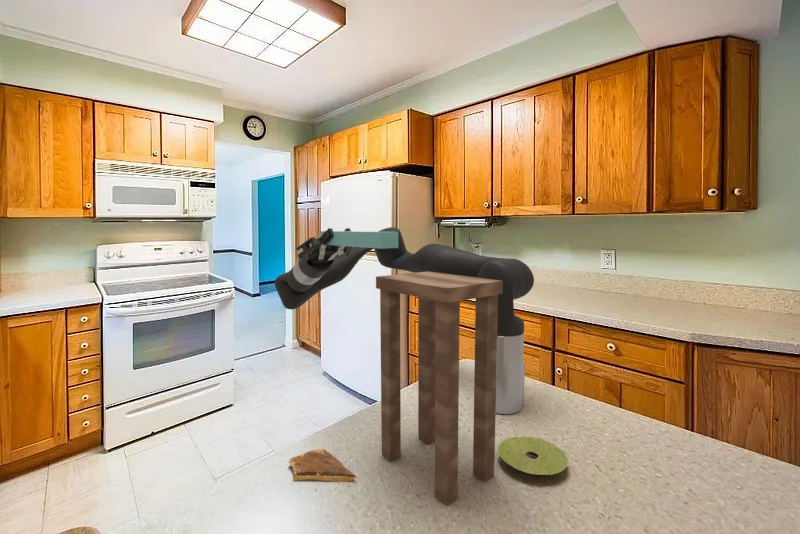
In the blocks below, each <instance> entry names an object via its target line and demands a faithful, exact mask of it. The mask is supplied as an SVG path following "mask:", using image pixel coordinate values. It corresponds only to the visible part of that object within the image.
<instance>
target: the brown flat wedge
mask: <svg viewBox="0 0 800 534" xmlns="http://www.w3.org/2000/svg"><path fill="white" fill-rule="evenodd" d="M288 463H289V464H290V465H291V467H292V469H293V477H292V479H293V481H294V482H295V481H307V480H312V481H321V482H339V483H340V482H352V481H355V478H357V475H355V474H353V472H351V470H349V469H348V468H347V467H346V466H344V465H343V463H342V462H341V461H340V460H339V459H337V457H335V456H334V455H333V454H332V453H330V452H329V451H327V450H326V449H325V448H319V449H312V450H309V451H306V452H304V453H302V454H299V455H296V456H293V457H292V458H289V460H288Z"/></svg>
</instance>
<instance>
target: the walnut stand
mask: <svg viewBox="0 0 800 534" xmlns="http://www.w3.org/2000/svg"><path fill="white" fill-rule="evenodd" d="M375 288H376V289H377V290H379V293H380V295H379V296H380V297H379V301H380V302H379V304H380V305H379V307H380V309H379V311H380V314H379V315H380V319H379V320H380V322H379V323H380V395H381V398H380V399H381V401H380V402H381V403H380V410H381V411H380V412H381V413H380V414H381V415H380V416H381V423H380V425H381V456H382V457H383V458H384V459H385V460H386V461H388V462H389V463H391V462H393V461H395V460H398V459H399V458H401V454H402V453H401V452H402V445H401V444H402V443H401V441H402V440H401V439H402V438H401V437H402V436H401V435H402V434H401V427H402V425H401V419H402V418H401V412H402V411H401V410H402V409H401V404H402V403H401V402H402V401H401V295H407V296H411V297H417V298H418V299H417V301H418V304H417V305H418V309H417V311H418V314H417V316H418V318H417V319H418V323H417V324H418V325H417V327H418V330H417V331H418V332H417V333H418V335H417V337H418V339H417V340H418V342H417V343H418V344H417V345H418V348H417V349H418V350H417V351H418V353H417V354H418V356H417V357H418V362H417V363H418V366H417V367H418V368H417V369H418V375H417V377H418V378H417V379H418V380H417V382H418V385H417V386H418V389H417V390H418V391H417V392H418V393H417V394H418V395H417V396H418V399H417V400H418V405H417V406H418V407H417V408H418V410H417V411H418V414H417V419H418V421H417V423H418V424H417V425H418V426H417V429H418V430H417V431H418V435H417V436H418V438H417V439H418V440H419V441H421V442H422V443H424V444H425V445H429V444H431V443H434V498H435V499H437V500H438V501H439V502H440V503H441V504H443V505H444V506H446V507H447V506H449V504H452V503H453V502H455V501H456V500H458V498H459V497H458V488H459V487H458V484H459V483H458V482H459V481H458V480H459V479H458V477H459V476H458V475H459V405H460V403H459V401H460V400H459V397H460V395H459V394H460V386H459V385H460V317H461V316H460V310H461V309H460V308H461V306H460V305H461V304H460V303H461V301H467V300H474V299H475V313H474V319H475V320H474V321H475V322H474V323H475V324H474V374H473V375H474V379H473V380H474V381H473V382H474V386H473V387H474V388H473V389H474V390H473V441H472V442H473V444H472V445H473V446H472V447H473V452H472V455H473V456H472V459H473V460H472V475H473V476H475V477H476V478H478V479H479V480H481V481H483V482H487V481H488V480H490V479H491V478H493V477H494V476H495V454H496V453H495V452H496V451H495V448H496V447H495V446H496V445H495V444H496V442H495V441H496V413H495V412H496V365H497V317H498V294H503V281H501V280H493V279H485V278H477V277H469V276H461V275H453V274H445V273H437V272H429V271H428V272H418V273H414V272H409V273H400V274H391V275H389V274H387V275H378V276H377V275H376V276H375Z"/></svg>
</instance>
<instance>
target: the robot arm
mask: <svg viewBox="0 0 800 534" xmlns="http://www.w3.org/2000/svg"><path fill="white" fill-rule="evenodd" d="M333 231H334V230H333V228H332V227H330V228H329V227H328V228H327V230H325V232H324V233H323V234H322V236H320V235H319V236H317V237H318V238H317V237H314V236H312V237H310V238H308V239H307V240H306V241H304V242H303V243H302V244H300V245H299V246H298V247H296V253H297V256H298V258H297V260H296V261H295V263H294V265H293V267H292V268H291V269H290V270H289V271H286V272H284V273H282V274H279V275H278V276H277V277H275V281H274V287H275V289H276V291H277V294H278V296H279V298H280V301H281V304H282V305H283V307H284V309H286V310H297V309H298V308H300V307H301V306H303V305H304V304H305V303H306V302H308V301H309V300H310V299H311V298H312V297H314V296H315V295H316V294H318V293H319V292H321V291H323V290H324V289H326V288H328V287H330V286H333V285H335V284H337V283H340V282H342V281H343V280H344V279H345V278H346V277H348V275H349V274H350V273H351V272H352V271H353V269H354V267H355V266H357V264H358V263H359V261H360V260H361V259H362V258H363V257H364V256H365V255H366V254H368V253H369V252H371V251H373V250H374V252H375V255H376V258H377V260H378V262H379V263H380V265H381V266H383V267H385V268H388V269H394V270H400V271H406V272H409V273H418V272H428V271H429V272H437V273H445V274H453V275H461V276H469V277H477V278H485V279H493V280H501V281H503V294H498V317H497V365H496V412H495V414H498V415H499V414H500V415H511V414H517V413H519V412H520V411H521V410H522V409H523V405H525V380H526V379H525V377H526V376H525V375H526V363H524V353H525V350H524V348H525V347H524V344H525V343H524V342H525V340H524V339H525V321H524V320H523V319H522V318H521V317H520V316H518V315H516V314H515V307H514V300H518V299H521V298H522V297H525V296H526V295H527V294H529V293H530V291H531V290H532V289H533V287H534V283H535V278H534V274H533V272H532V270H531V268H530V267H529V266H528V264H526V263H525V262H523V261H521V260H520V259H517V258H507V257H505V258H504V257H492V256H486V255H481V254H477V253H475V252H474V253H473V252H471V251H467V250H464V249H460V248H456V247H453V246H449V245H444V244H441V243H440V244H439V243H429V244H426V245H424V246H422V247H421V248H419V249H417V251H416V252H415V253H413V252H410V251H408V250H407V247H406V244H405V242H404V237H403V235H402V232H401V229H399V228H397V227H386V228H382V229H381V230H379V231H377V232H398V248H384V249H379V248H365V247H350V246H336V245H326V244H328V243H329V242H330V241H331V239H332V238H333V237H334V234H333ZM343 231H352V230H351V228H350V227H346V228H345V230H343Z"/></svg>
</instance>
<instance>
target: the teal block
mask: <svg viewBox="0 0 800 534" xmlns="http://www.w3.org/2000/svg"><path fill="white" fill-rule="evenodd" d="M325 231H326V230H325ZM325 231H324V230H322V231H321V230H320V232H319V233H320V235H319V236H322V234H323V233H324V232H325ZM333 234H334V237H333V238H332V239H331V241H330V242H329V243H328V244H326V245H336V246H350V247H365V248H379V249H384V248H398V232H378V231H361V230H359V231H356V230H355V231H354V230H353V231H352V230H351V231H344V230H336V231H335V230H333Z"/></svg>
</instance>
